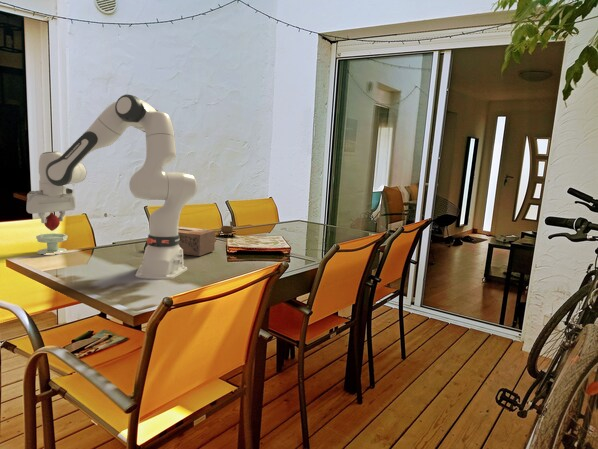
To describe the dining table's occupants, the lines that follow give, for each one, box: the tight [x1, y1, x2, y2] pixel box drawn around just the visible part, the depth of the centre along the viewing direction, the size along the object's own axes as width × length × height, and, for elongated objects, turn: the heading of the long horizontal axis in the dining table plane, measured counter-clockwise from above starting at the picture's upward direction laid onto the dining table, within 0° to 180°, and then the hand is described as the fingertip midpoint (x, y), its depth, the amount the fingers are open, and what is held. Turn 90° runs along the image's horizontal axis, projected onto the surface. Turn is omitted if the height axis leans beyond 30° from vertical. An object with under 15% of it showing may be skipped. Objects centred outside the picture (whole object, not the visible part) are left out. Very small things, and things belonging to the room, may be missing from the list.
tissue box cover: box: [178, 226, 216, 257], centre depth 208 cm, size 26×14×10 cm, turn 73°
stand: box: [35, 232, 69, 255], centre depth 187 cm, size 11×11×8 cm
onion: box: [43, 212, 61, 232], centre depth 185 cm, size 6×6×8 cm
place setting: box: [216, 221, 238, 235], centre depth 262 cm, size 18×20×6 cm
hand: (52, 222), depth 185 cm, fingers closed on onion, 6 cm apart
